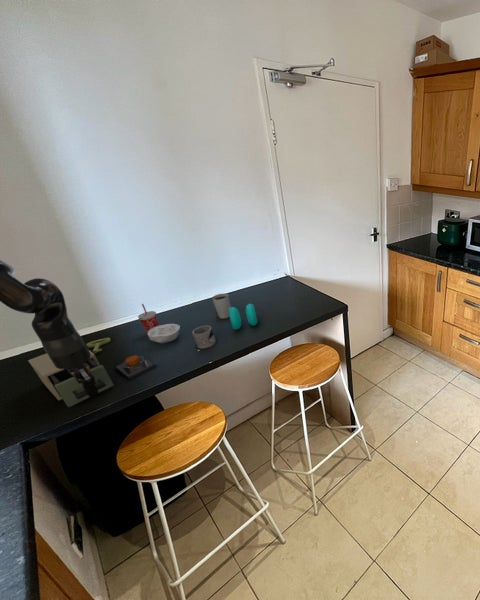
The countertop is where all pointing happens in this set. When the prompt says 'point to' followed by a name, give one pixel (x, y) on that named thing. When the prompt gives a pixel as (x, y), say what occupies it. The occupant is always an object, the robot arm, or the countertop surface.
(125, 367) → the control block
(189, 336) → the countertop surface
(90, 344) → the key
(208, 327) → the mug
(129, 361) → the button
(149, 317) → the beverage cup
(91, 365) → the pull-out drawer
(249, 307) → the donuts
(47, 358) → the small drawer cabinet
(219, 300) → the drinking glass
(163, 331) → the cell model
